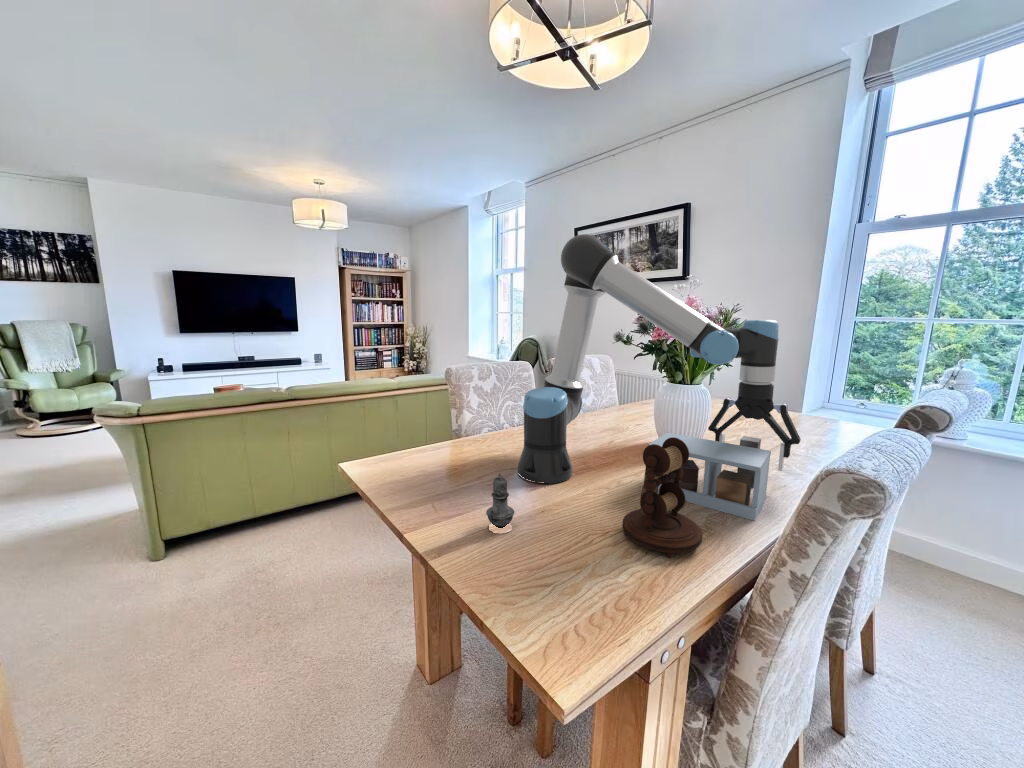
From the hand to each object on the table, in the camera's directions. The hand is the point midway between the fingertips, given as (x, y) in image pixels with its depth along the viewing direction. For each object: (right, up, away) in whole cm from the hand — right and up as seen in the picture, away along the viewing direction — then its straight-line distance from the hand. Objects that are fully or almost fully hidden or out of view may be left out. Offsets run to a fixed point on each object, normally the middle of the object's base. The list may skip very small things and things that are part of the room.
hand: (749, 463), depth 105 cm
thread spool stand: (-32, -10, -25) cm, 42 cm away
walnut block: (-6, -7, -5) cm, 10 cm away
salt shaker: (-64, -10, -20) cm, 68 cm away
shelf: (-14, -7, -5) cm, 17 cm away
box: (-19, -7, -3) cm, 20 cm away
